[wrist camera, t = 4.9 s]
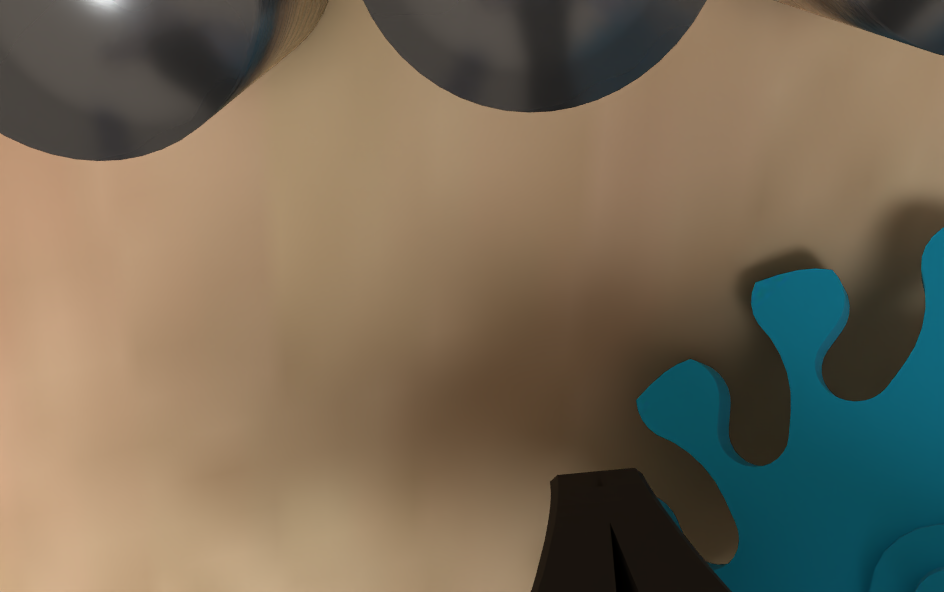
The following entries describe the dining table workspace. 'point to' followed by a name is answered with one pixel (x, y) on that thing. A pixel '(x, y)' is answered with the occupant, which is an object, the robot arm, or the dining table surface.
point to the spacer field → (293, 18)
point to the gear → (825, 451)
